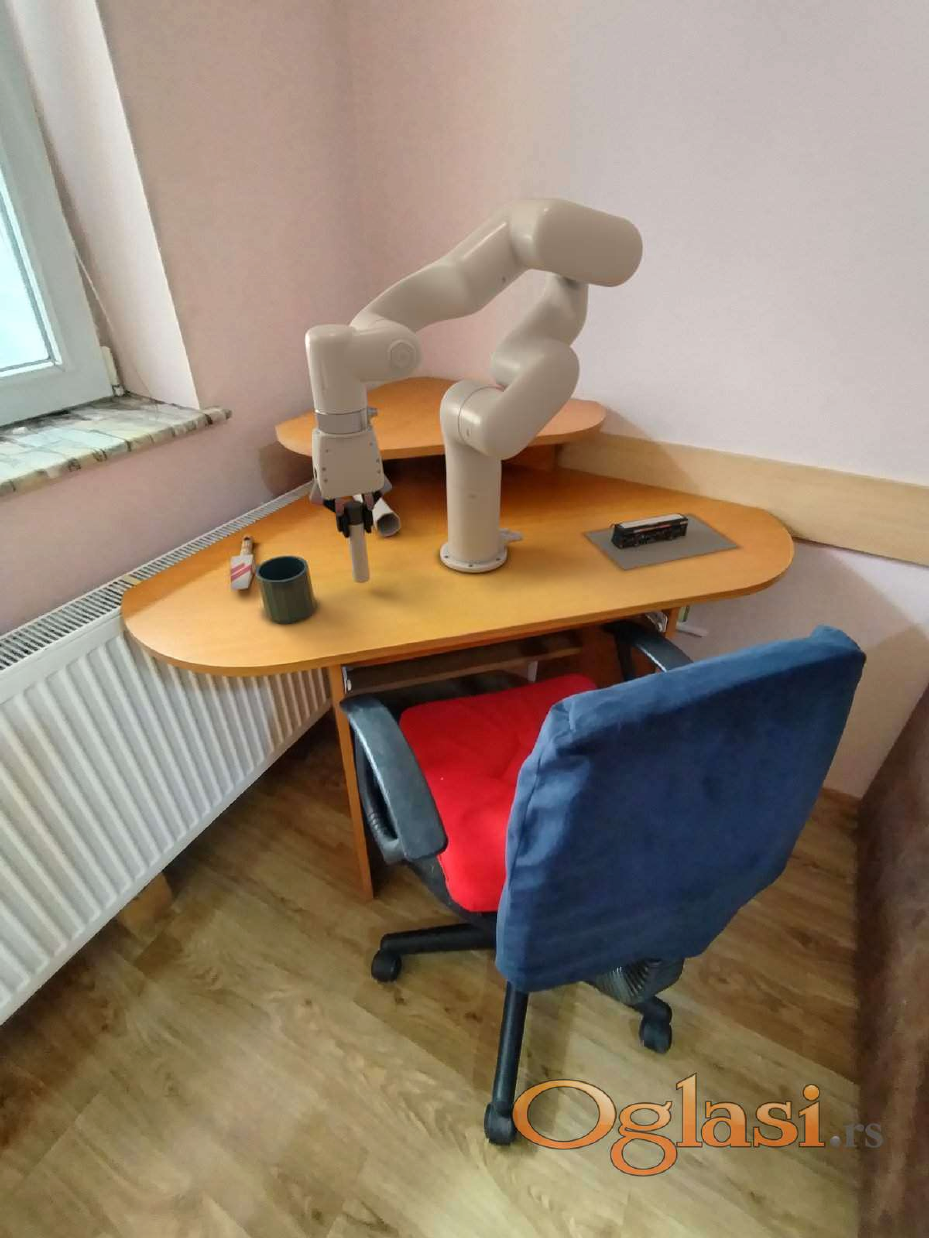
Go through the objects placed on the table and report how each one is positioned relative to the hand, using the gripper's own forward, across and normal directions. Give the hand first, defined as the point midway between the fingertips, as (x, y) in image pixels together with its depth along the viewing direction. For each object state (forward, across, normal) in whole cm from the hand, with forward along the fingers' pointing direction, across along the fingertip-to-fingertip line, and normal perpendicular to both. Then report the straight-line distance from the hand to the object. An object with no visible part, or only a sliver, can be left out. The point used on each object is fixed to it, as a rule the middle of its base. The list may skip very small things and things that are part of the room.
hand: (356, 531), depth 97 cm
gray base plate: (+11, -58, +8) cm, 60 cm away
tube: (+11, -10, -29) cm, 33 cm away
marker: (+9, 0, 0) cm, 9 cm away
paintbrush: (+12, +18, -16) cm, 27 cm away
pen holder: (+11, +13, +1) cm, 17 cm away
